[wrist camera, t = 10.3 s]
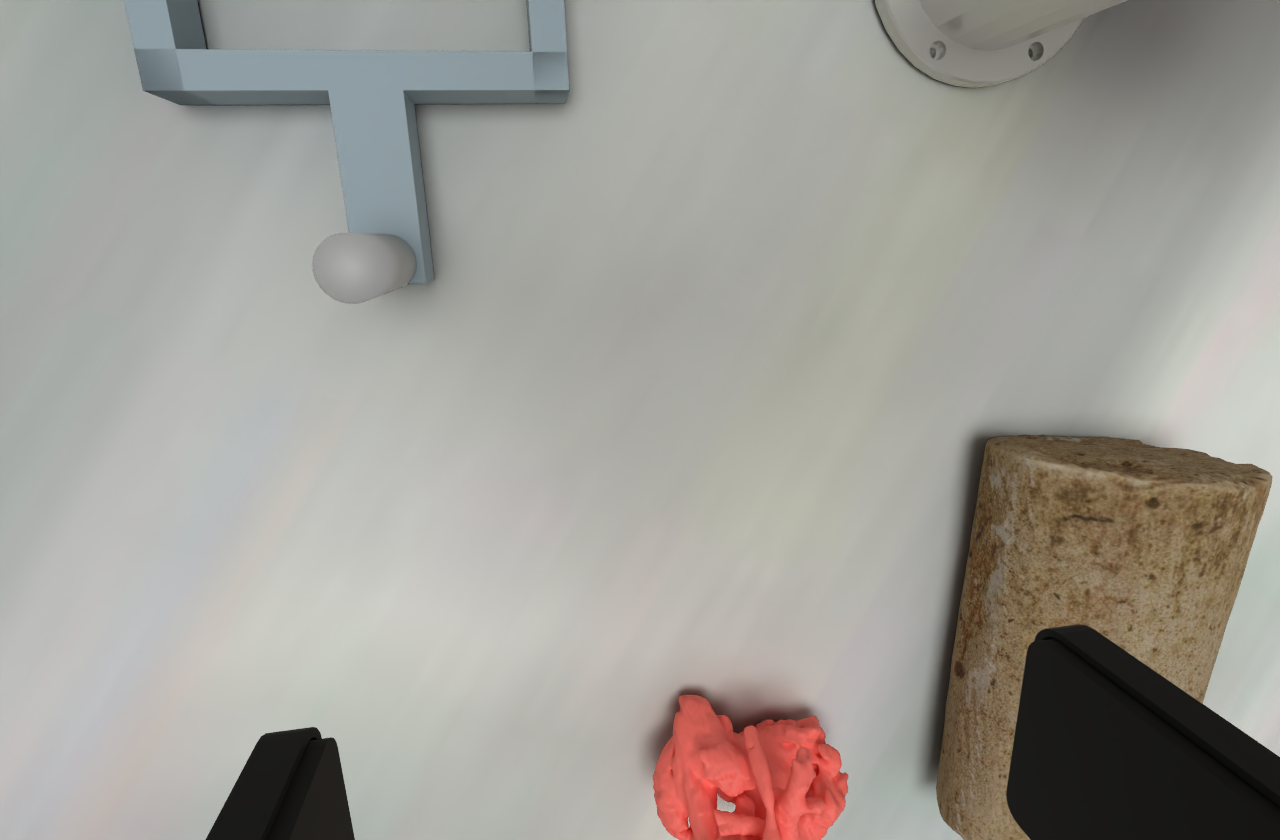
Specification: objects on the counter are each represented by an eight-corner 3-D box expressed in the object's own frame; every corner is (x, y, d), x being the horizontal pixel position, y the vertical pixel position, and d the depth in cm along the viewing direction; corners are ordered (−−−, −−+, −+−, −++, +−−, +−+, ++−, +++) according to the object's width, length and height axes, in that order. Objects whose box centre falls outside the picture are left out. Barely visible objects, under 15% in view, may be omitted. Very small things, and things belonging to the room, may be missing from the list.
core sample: (910, 778, 48) (1005, 912, 38) (956, 424, 41) (1087, 481, 31) (1082, 754, 50) (1212, 875, 41) (1153, 414, 43) (1332, 464, 34)
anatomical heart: (812, 724, 47) (897, 911, 37) (646, 765, 46) (689, 971, 36) (816, 640, 42) (916, 828, 32) (631, 683, 41) (676, 894, 31)
